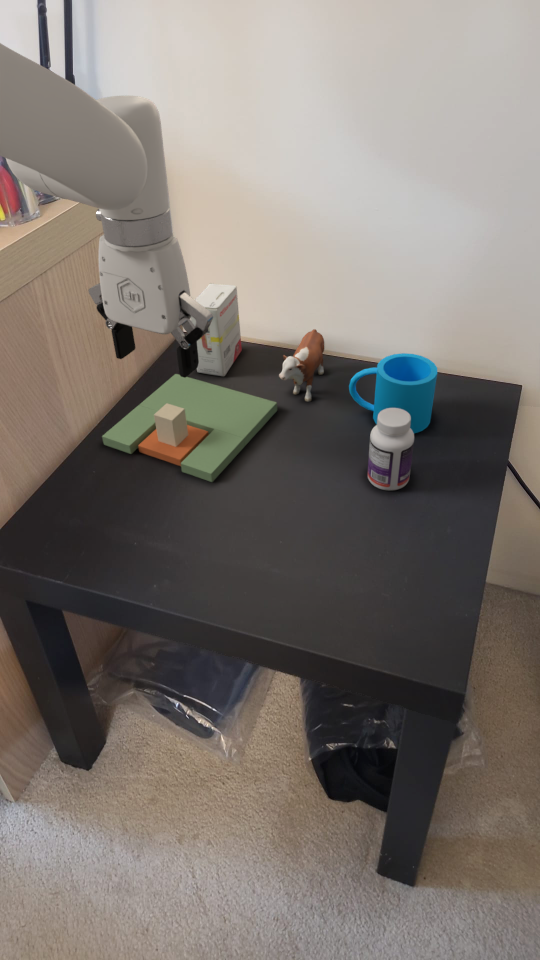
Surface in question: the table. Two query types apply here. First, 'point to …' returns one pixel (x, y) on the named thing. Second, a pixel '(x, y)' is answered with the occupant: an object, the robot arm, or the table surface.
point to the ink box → (219, 330)
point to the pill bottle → (391, 450)
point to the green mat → (198, 422)
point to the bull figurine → (305, 362)
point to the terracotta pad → (172, 451)
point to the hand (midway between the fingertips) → (157, 362)
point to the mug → (401, 387)
